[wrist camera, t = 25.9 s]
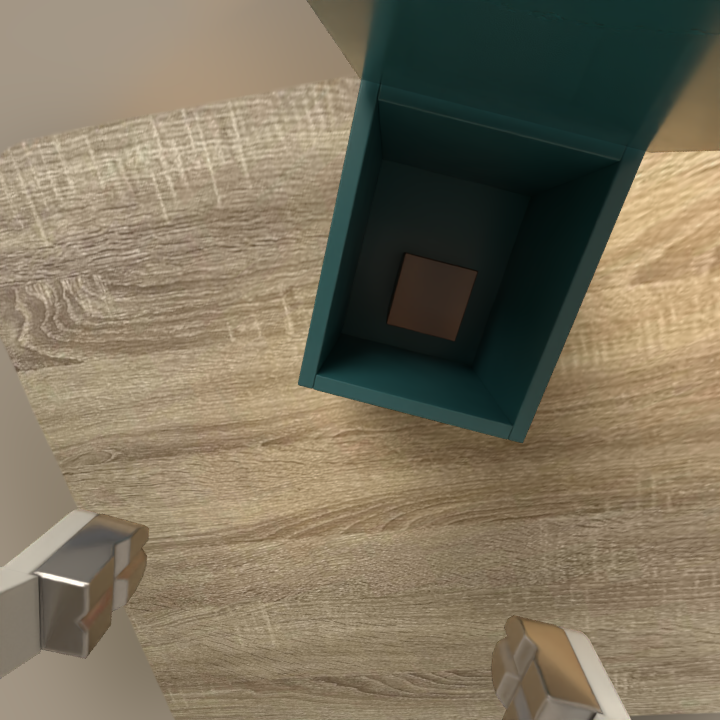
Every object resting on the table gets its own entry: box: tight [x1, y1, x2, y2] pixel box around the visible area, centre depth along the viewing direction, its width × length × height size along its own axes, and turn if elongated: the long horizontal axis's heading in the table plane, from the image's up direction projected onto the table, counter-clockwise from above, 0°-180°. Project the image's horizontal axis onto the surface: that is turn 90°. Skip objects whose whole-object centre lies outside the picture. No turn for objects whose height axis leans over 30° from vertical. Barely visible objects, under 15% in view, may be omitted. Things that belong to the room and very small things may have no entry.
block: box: [387, 252, 478, 341], centre depth 25 cm, size 4×4×4 cm
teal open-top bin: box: [298, 79, 645, 443], centre depth 22 cm, size 14×12×11 cm
